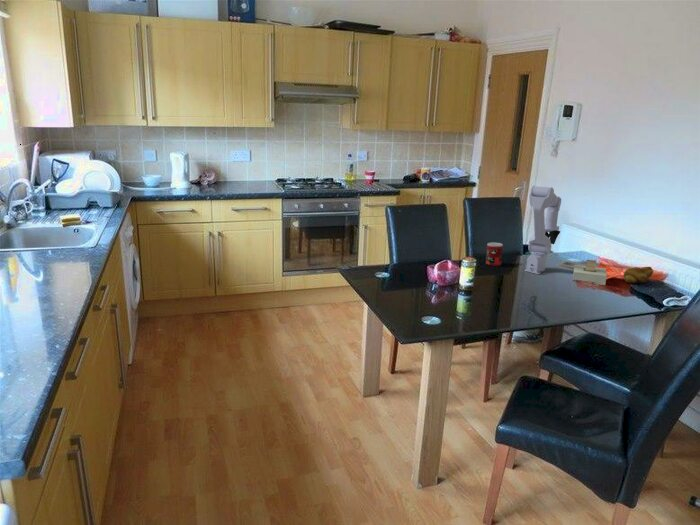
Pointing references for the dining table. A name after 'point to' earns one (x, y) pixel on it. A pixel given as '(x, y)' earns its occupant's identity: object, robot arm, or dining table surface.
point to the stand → (567, 265)
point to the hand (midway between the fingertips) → (548, 244)
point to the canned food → (494, 254)
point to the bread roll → (638, 275)
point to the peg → (590, 265)
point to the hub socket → (590, 275)
